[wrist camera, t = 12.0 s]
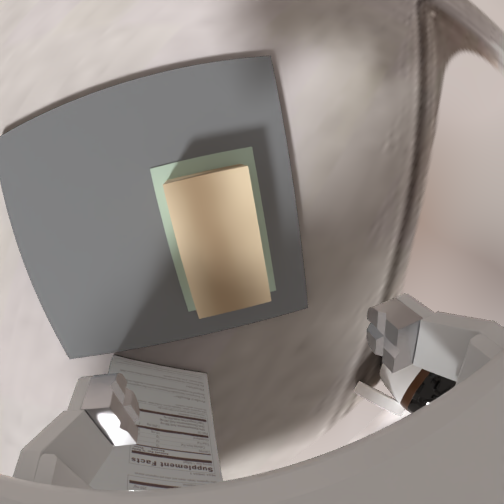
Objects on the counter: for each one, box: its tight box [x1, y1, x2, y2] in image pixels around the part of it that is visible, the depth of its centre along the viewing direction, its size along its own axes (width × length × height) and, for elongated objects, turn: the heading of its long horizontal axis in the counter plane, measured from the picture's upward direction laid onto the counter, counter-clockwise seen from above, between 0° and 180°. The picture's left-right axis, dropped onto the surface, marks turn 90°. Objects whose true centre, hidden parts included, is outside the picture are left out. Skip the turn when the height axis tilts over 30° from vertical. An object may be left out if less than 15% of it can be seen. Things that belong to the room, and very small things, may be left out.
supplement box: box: [89, 355, 223, 490], centre depth 18 cm, size 10×9×17 cm
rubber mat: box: [0, 56, 308, 359], centre depth 20 cm, size 20×22×1 cm
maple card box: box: [163, 164, 271, 319], centre depth 19 cm, size 5×9×3 cm, turn 10°
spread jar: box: [353, 360, 456, 416], centre depth 26 cm, size 12×11×12 cm
